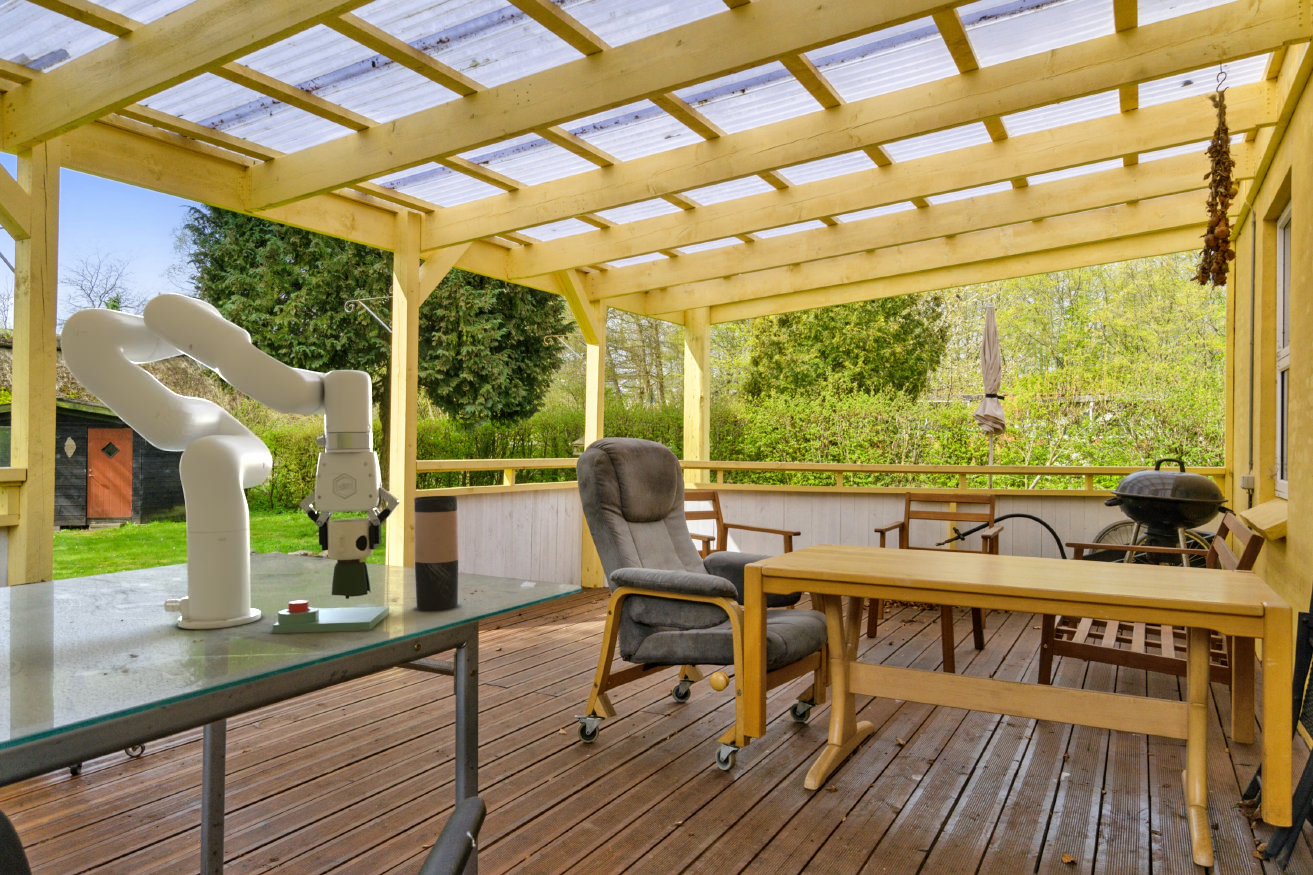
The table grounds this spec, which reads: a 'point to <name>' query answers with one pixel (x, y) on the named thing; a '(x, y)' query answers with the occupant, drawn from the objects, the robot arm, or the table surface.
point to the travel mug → (436, 552)
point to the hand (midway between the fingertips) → (350, 548)
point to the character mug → (349, 555)
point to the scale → (330, 619)
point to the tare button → (298, 606)
